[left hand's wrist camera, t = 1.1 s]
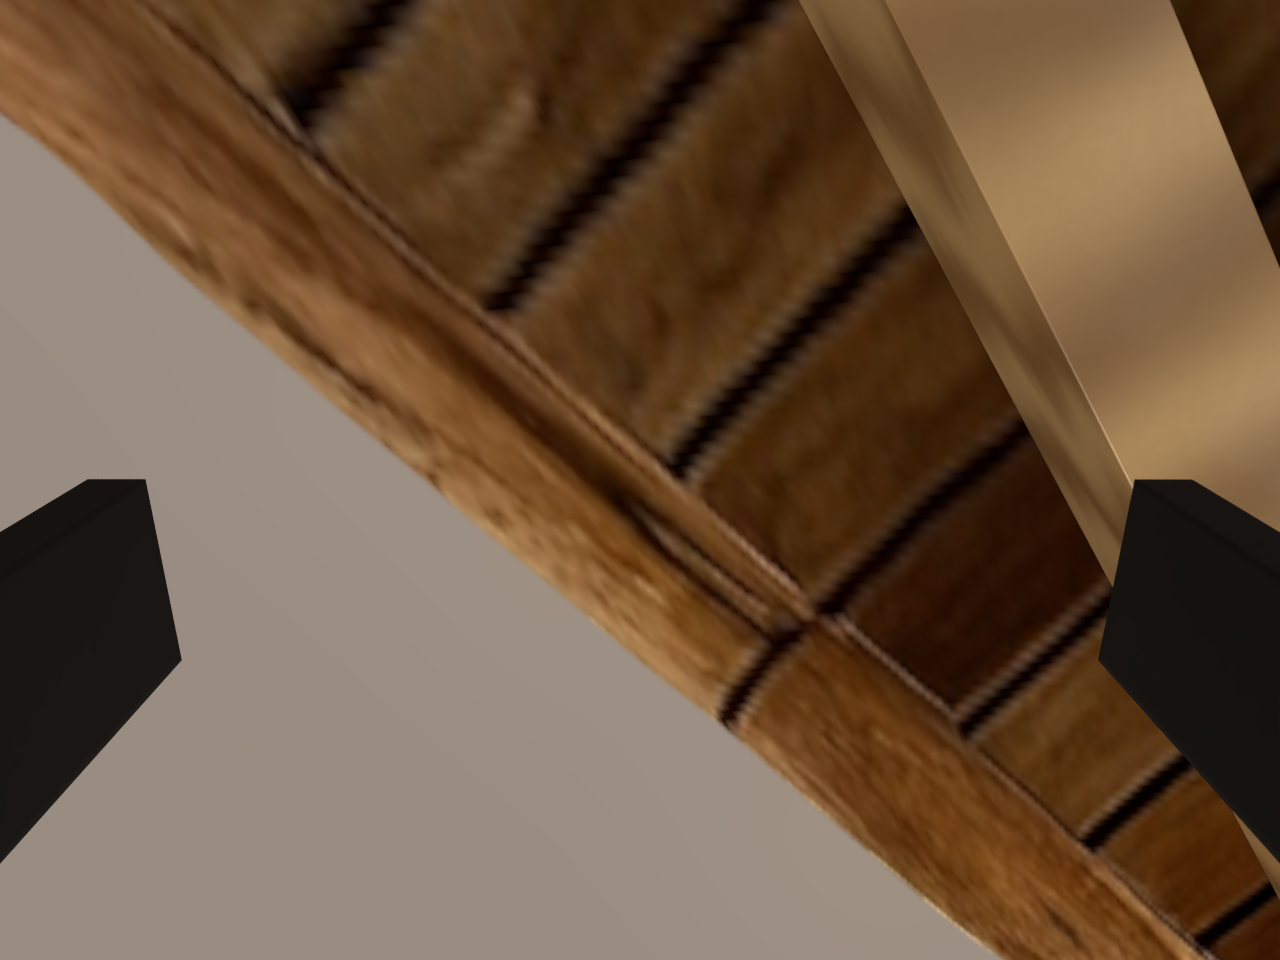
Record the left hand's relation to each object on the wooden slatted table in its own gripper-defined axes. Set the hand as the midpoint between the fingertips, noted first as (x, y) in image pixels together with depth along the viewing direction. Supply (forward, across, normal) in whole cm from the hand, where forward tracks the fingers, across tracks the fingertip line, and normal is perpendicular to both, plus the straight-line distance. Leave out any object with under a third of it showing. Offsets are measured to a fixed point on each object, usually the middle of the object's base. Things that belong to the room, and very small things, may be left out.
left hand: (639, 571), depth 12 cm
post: (+21, +22, -11) cm, 32 cm away
